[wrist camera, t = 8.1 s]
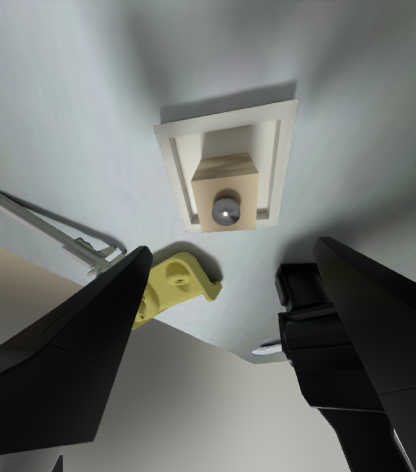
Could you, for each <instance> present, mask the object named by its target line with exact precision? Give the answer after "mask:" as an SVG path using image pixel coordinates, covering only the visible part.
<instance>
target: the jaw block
mask: <svg viewBox="0 0 416 472" xmlns="http://www.w3.org/2000/svg"><path fill="white" fill-rule="evenodd" d="M258 180H259V172H258V171H257V169H256V167H255V165H254V163H253V161H252V159H251V157H250V155H249V153H248V152H246V153H240V154H233V155H226V156H219V157H212V158H205V159H201V160H200V162H199V165H198V167H197V169H196V171H195V173H194V175H193V177H192V180H191V186H192V190H193V195H194V199H195V204H196V208H197V213H198V217H199V222H200V226H201V231H202V233H204V232H220V231H235V230H251V229H256V213H257V196H258Z"/></svg>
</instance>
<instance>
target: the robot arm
mask: <svg viewBox="0 0 416 472" xmlns="http://www.w3.org/2000/svg"><path fill="white" fill-rule="evenodd" d="M313 254H314V257H315V260H316V263H317V264H284V265H281V266H280V270H279V274H278V275H277V277H276V282H275V285H276V289H277V292H278V296H279V299H280V303H281V305H282V306H285V308H286V311H287V312H284V313H282V312H281V313H278V316H279V319H278V320H279V329H280V337H281V345H282V351H283V352H284V353H285V354H286V357H287V359H288V361H289V363H290V364H291V366H292V367H294V369H295V372H296V375H297V379H298V382H299V386H300V389H301V393H302V395H303V396H304V398H305V399H306V401H307V402H308V404H309V405H310V406H311V407H312V408H317V409H318V410H319V411H320V412H321V414H322V415H323V416H324V417H325V419H326V420H327V421H328V422H329V424H330V425H331V426H332V427H333V429H334V430H335V432H336V434H337V437H338V439H339V442H340V444H341V447H342V450H343V452H344V455H345V457H346V460H347V463H348V465H349V468H350V470H351V472H416V282H414V281H412V280H410V279H408V278H406V277H404V276H403V275H401V274H399V273H397V272H395V271H393V270H391V269H389V268H388V267H386V266H384V265H382V264H380V263H378V262H376V261H374V260H372V259H371V258H369V257H367V256H365V255H363V254H361V253H359V252H357V251H356V250H354V249H352V248H350V247H348V246H346V245H344V244H342V243H340V242H339V241H337V240H335V239H333V238H331V237H329V236H320V237H318V238H317V240H316V242H315V245H314V247H313ZM152 261H153V255H152V253H151V252H150V250H149V248H148V247H147V246H139V247H138V248H136V249H135V250H134V251H132V252H131V253H130V254H128V255H127V256H125V257H124V258H123V259H121V260H120V261H119V262H117V263H116V264H115V265H113V266H112V267H111V268H109V269H108V270H107V271H105V272H104V273H102V274H101V275H100V276H98V277H97V278H96V279H94V280H93V281H92V282H90V283H89V284H88V285H86V286H85V287H84V288H83V289H81V290H79V291H78V292H77V293H75V294H74V295H73V296H71V297H70V298H69V299H68V300H66V301H65V302H63V303H62V304H60V305H59V306H58V307H56V308H55V309H53V310H52V311H50V312H49V313H47V314H46V315H44V316H43V317H42V318H40V319H39V320H37V321H36V322H34V323H33V324H31V325H30V326H28V327H27V328H25V329H24V330H22V331H21V332H19V333H18V334H16V335H15V336H13V337H12V338H10V339H9V340H7V341H6V342H4V343H3V344H1V345H0V472H63V456H62V455H60V453H61V451H62V449H63V447H64V446H66V445H74V444H81V443H88V442H92V441H94V438H95V436H96V433H97V431H98V428H99V425H100V422H101V419H102V416H103V412H104V410H105V407H106V404H107V401H108V398H109V395H110V392H111V389H112V386H113V383H114V380H115V377H116V375H117V370H118V368H119V365H120V362H121V359H122V356H123V353H124V351H125V348H126V345H127V342H128V339H129V336H130V333H131V330H132V327H133V324H134V321H135V318H136V315H137V312H138V309H139V306H140V303H141V300H142V298H143V295H144V292H145V289H146V286H147V282H148V279H149V274H150V270H151V265H152ZM394 429H395V431H396V433H397V435H398V438H399V440H400V442H401V444H402V446H403V448H404V450H405V452H406V454H407V456H408V458H409V460H410V462H411V463H410V462H409V460H408V458H407V456H406V454H405V452H404V450H403V448H402V446H401V445H400V443H399V441H398V439H397V437H396V435H395V433H394ZM411 464H412V465H411ZM412 466H413V467H412ZM413 468H414V469H413ZM414 470H415V471H414Z"/></svg>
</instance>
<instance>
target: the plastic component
mask: <svg viewBox="0 0 416 472" xmlns="http://www.w3.org/2000/svg"><path fill="white" fill-rule="evenodd" d="M221 289H222V285H221V283H220V282H218V281H214V282H210V280H209V279H208V277H207V275H206V274H205V272H204V271H203V269H202V267H201V266H200V264H199V263H198V261H197V260H196V258H195V257H194V256H193V255H192V254H190V253H188V252H178V253H176V254H175V255H173V256H171V257H169V258H168V259H166V260H164V261H162V262H160V263H159V264H157V265H155V266H153V267H152V268H151V270H150V274H149V279H148V282H147V286H146V289H145V292H144V295H143V298H142V300H141V303H140V306H139V309H138V312H137V315H136V318H135V321H134V324H133V327H132V330H133V329H136V328H138V327H139V326H141V325H142V324H144V323H145V322H147V321H148V320H150V319H151V318H153V317H154V316H156V315H157V314H159V313H161V312H162V311H164V310H166V309H168V308H169V307H171V306H173V305H176V304H179V303H181V302H184V301H186V300H189V299H191V298H194V297H196V296H199V295H201V294H203V295H204V296H205V298H206V299H207V300H208V301H214V300H215V299H216V297H217V295H218V294H219V292H220V291H221Z"/></svg>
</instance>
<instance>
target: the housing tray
mask: <svg viewBox="0 0 416 472" xmlns="http://www.w3.org/2000/svg"><path fill="white" fill-rule="evenodd" d="M298 101H299V99H293V100H287V101H281V102H276V103H271V104H265V105H260V106H255V107H249V108H244V109H238V110H233V111H228V112H222V113H217V114H212V115H206V116H201V117H196V118H190V119H185V120H180V121H174V122H169V123H164V124H159V125H155V126H153V127H154V131H155V134H156V137H157V141H158V144H159V147H160V150H161V154H162V157H163V160H164V163H165V167H166V170H167V173H168V176H169V180H170V183H171V186H172V190H173V193H174V196H175V199H176V203H177V206H178V209H179V212H180V216H181V219H182V222H183V225H184V229H185V232H186V231H201V226H200V222H199V217H198V213H197V208H196V204H195V199H194V195H193V190H192V186H191V180H192V177H193V175H194V173H195V171H196V169H197V167H198V165H199V162H200V160H201V159H205V158H212V157H219V156H226V155H233V154H240V153H246V152H248V153H249V155H250V157H251V159H252V161H253V163H254V165H255V167H256V169H257V171H258V172H259V180H258V196H257V213H256V227H263V226H277V222H278V217H279V211H280V205H281V199H282V193H283V188H284V182H285V176H286V170H287V165H288V159H289V153H290V147H291V141H292V136H293V130H294V124H295V118H296V112H297V107H298Z"/></svg>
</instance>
